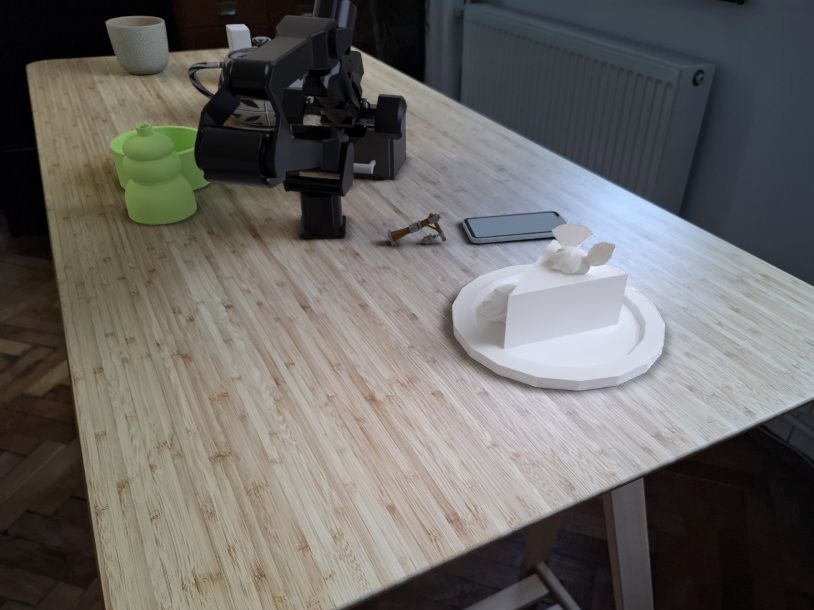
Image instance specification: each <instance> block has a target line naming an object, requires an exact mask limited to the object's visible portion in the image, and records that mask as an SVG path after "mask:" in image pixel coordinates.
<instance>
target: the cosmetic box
mask: <svg viewBox="0 0 814 610" xmlns="http://www.w3.org/2000/svg"><path fill="white" fill-rule="evenodd" d="M225 27H226V36H227V42H228V49H229V52H231V51H234V50H237V49H243V48H250V47H252V38H251V32H250V29H249V28H248V26H246V25H245V24H244V23H239V24H237V23H236V24H234V23H233V24H225Z"/></svg>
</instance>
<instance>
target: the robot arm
mask: <svg viewBox="0 0 814 610" xmlns="http://www.w3.org/2000/svg"><path fill="white" fill-rule="evenodd" d="M357 14H358V10H357V6H356V4H354V3H353V2H352V1H351V0H314V6H313V12H312V16H302V15H301V16H300V15H289V14H288V15H287V14H286V15H284V17H283V18H282V19H281V20H280V21H279V22H278V24H277V25H276V26H275V36H274V38H273V39H271V41H269V42H268V43H266V44H264V45H263V46H261V47H259V48H257V49H256V50H254V51H252V52H251V53H249V54H247V55H246V56H244V57H242V58H236V59H235V60H230V61H229V62H228V63H227V66H226V70H225V76H224V81H223V85H222V86H221V87H220V88H219V89H218V88H217V90H216V92H215V93H213V94H214V95H213V97H212V98H211V99H208V101H207V102H206V104H205V105H204V106H203V107H202V109H201V111H200V116H199V120H198V125H197V129H198V130H197V135H196V140H195V146H194V158H195V162H196V165H197V167H198V168H199V170H201V171H203V172H204V175H203V178H204V179H205V180H206V181H207V182H210V183H211V184H222V185H233V186H243V187H244V186H245V187H254V188H266V189H274V188H276V187H278V186H279V185H280V184H282V186H283V188H284V189H283V190H284V192H285V193H289V192H292V193H293V192H294V193H298V195H299V202H300V203H299V205H300V213H301V217H300V223H299V230H298V237H299V239H331V238H332V239H333V238H345V237H347V216H346V215H344V214H343V204H342V198H344V197H346V195H348V193H349V192H350V190H351V188H352V187H353V185H354V176H353V169H354V147H353V144H352V143H357V140H358V139H359V138H365V137H366V135H367V129H368V125H369V126H374V133H375V135H376V136H377V137H379V138H381V139H392V140H399V139H400V138H402V137H403V131H404V124H405V117H406V118H407V109H408V104H407V100H406V99H405V97H404V96H403V95H401V94H400V95H398V94H385V93H379V94H378V95H377V100H376V104H377V107H376V108H371V107H370V104H371V103H370V101H369V100H368V98H367V97H363V93H364V91H363V87H362V85H361V84H362V79H363V76H364V75H365V69H364V62H363V57H362V53H361V51H359V50H353V49H352V45H353V37H354V33H355V32H354V31H355V27H356V21H357ZM302 76H303V84H302V88H299V87H289V86H290V85H292V84H293V83H294V82H295V81H297V80H298V79H299V78H300V77H302ZM309 96H310V97H313V98H308V101H307V97H309ZM242 99H245V100H257V101H270V103H271V106H272V108H273V110H274V113H275V115H276V122H275V126H274V129H269V128H267V129H266V128H256V127H245V126H242V127H241V126H232V125H231V126H230V125H225V124H226V122H227V121H228V120H229V119H230V117H232V116H231V115H232V114H233V113H234V111H235V110H236V109H237V108H238V107H239V105H240V103H241V100H242ZM306 102H307V103H306ZM304 114H305V115H306V116H316V121H315V124H316V125H314V124H313V125H312V124H304V119H305V118H304ZM301 173H303V174H304V173H305V174H316V175H325V176H338V177H339V178H333V177H323V176H322V177H321V176H311V175H301Z"/></svg>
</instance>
